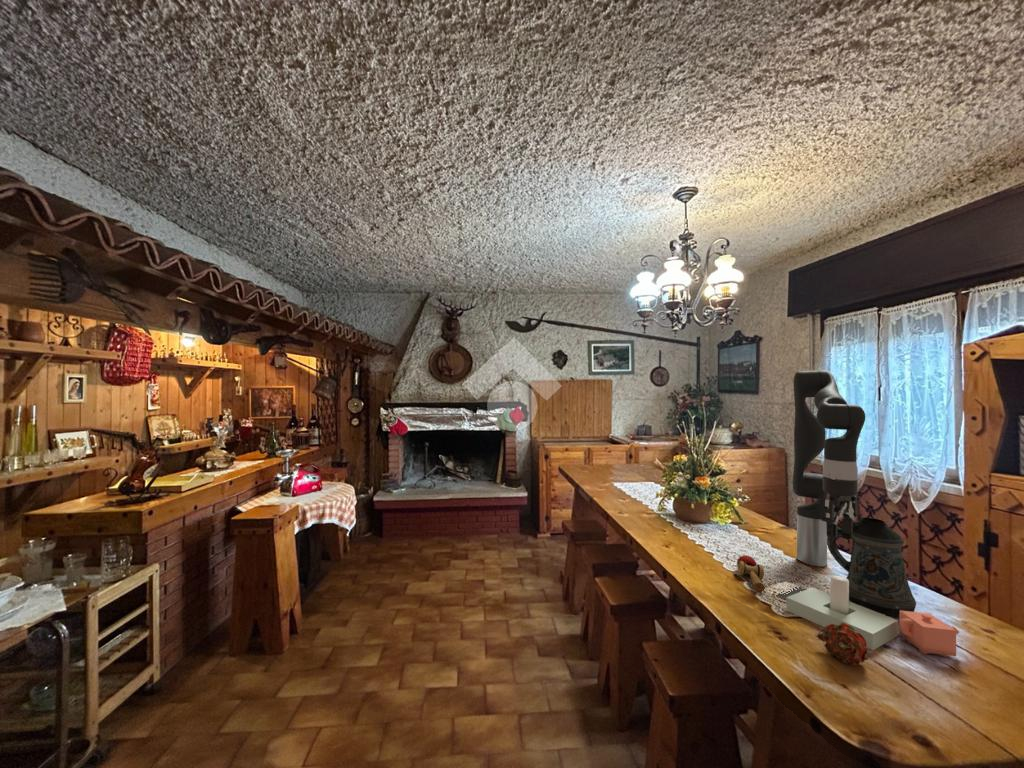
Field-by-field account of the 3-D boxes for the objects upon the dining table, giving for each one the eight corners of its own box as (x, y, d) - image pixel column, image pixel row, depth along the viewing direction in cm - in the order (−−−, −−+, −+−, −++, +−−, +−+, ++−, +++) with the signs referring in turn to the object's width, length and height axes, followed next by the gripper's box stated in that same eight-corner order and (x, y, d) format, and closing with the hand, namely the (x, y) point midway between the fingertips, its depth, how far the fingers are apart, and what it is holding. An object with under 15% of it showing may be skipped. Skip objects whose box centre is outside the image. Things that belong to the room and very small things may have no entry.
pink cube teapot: (972, 662, 96) (972, 627, 97) (912, 655, 99) (912, 620, 99) (944, 643, 104) (944, 610, 104) (890, 636, 106) (890, 604, 107)
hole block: (812, 600, 124) (812, 587, 124) (897, 635, 107) (897, 620, 107) (786, 611, 118) (786, 597, 118) (872, 650, 100) (872, 634, 100)
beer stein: (932, 622, 113) (932, 532, 114) (852, 613, 117) (852, 526, 118) (890, 594, 130) (890, 515, 130) (821, 587, 134) (821, 510, 134)
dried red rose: (851, 682, 91) (831, 658, 102) (889, 665, 89) (864, 643, 100) (823, 643, 94) (806, 624, 105) (858, 626, 92) (837, 609, 103)
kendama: (776, 597, 127) (758, 567, 144) (772, 578, 127) (755, 550, 144) (748, 598, 129) (734, 569, 147) (745, 579, 129) (731, 552, 146)
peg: (834, 617, 115) (834, 574, 115) (851, 624, 112) (851, 580, 112) (827, 620, 113) (827, 577, 113) (844, 628, 110) (844, 583, 110)
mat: (785, 581, 137) (785, 580, 137) (818, 594, 128) (818, 593, 128) (760, 590, 130) (760, 589, 130) (794, 604, 121) (794, 603, 122)
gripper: (837, 471, 120) (836, 527, 119) (811, 475, 113) (810, 534, 113) (868, 476, 113) (868, 535, 113) (843, 481, 106) (842, 543, 106)
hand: (839, 535), depth 113 cm, fingers open, 8 cm apart
